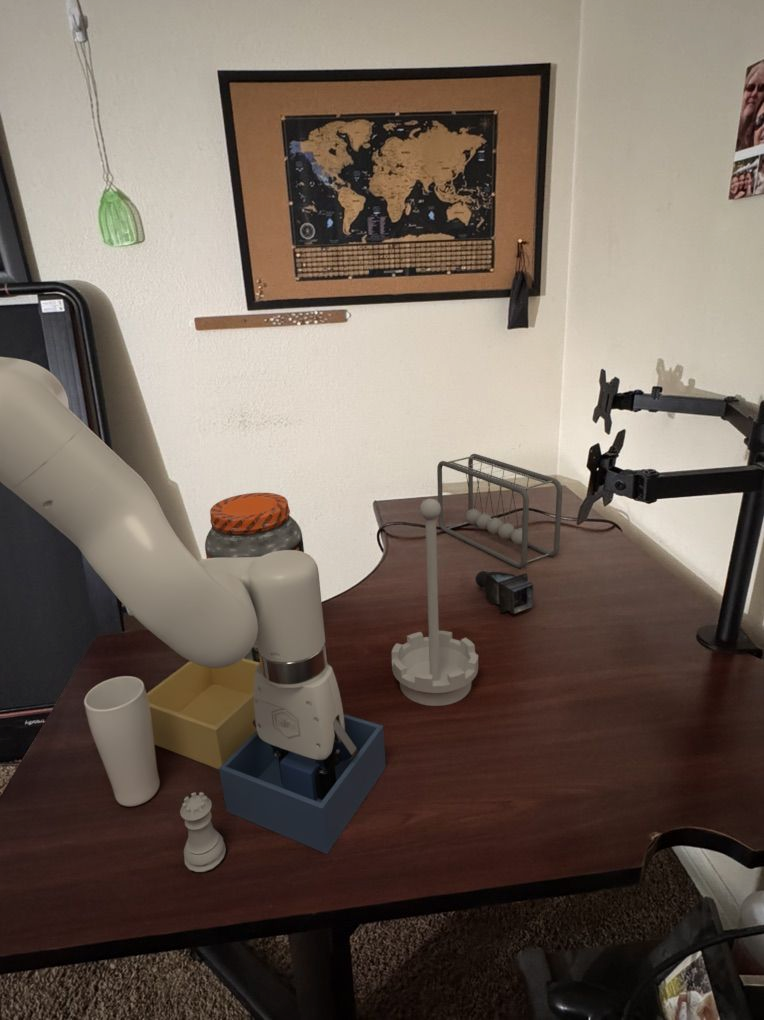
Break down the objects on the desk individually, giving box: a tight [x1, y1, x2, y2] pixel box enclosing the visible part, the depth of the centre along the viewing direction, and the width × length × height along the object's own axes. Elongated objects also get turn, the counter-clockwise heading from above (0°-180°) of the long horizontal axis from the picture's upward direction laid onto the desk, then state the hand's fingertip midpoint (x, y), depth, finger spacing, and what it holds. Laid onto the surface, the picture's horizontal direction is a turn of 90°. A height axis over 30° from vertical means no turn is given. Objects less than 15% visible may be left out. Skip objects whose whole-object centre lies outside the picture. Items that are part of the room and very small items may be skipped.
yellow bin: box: [146, 658, 259, 770], centre depth 89 cm, size 14×14×7 cm
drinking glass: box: [83, 675, 161, 807], centre depth 76 cm, size 7×7×15 cm
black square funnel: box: [475, 570, 534, 615], centre depth 118 cm, size 6×13×6 cm, turn 30°
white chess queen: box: [179, 791, 227, 873], centre depth 68 cm, size 4×4×8 cm
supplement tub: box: [204, 492, 305, 663], centre depth 105 cm, size 16×16×26 cm
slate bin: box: [218, 713, 387, 855], centre depth 77 cm, size 14×14×7 cm
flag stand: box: [391, 498, 479, 707], centre depth 91 cm, size 13×13×30 cm
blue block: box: [280, 751, 318, 801], centre depth 77 cm, size 4×4×4 cm
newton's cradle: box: [436, 453, 563, 569], centre depth 142 cm, size 30×10×18 cm, turn 32°
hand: (308, 782), depth 77 cm, fingers closed on blue block, 4 cm apart
